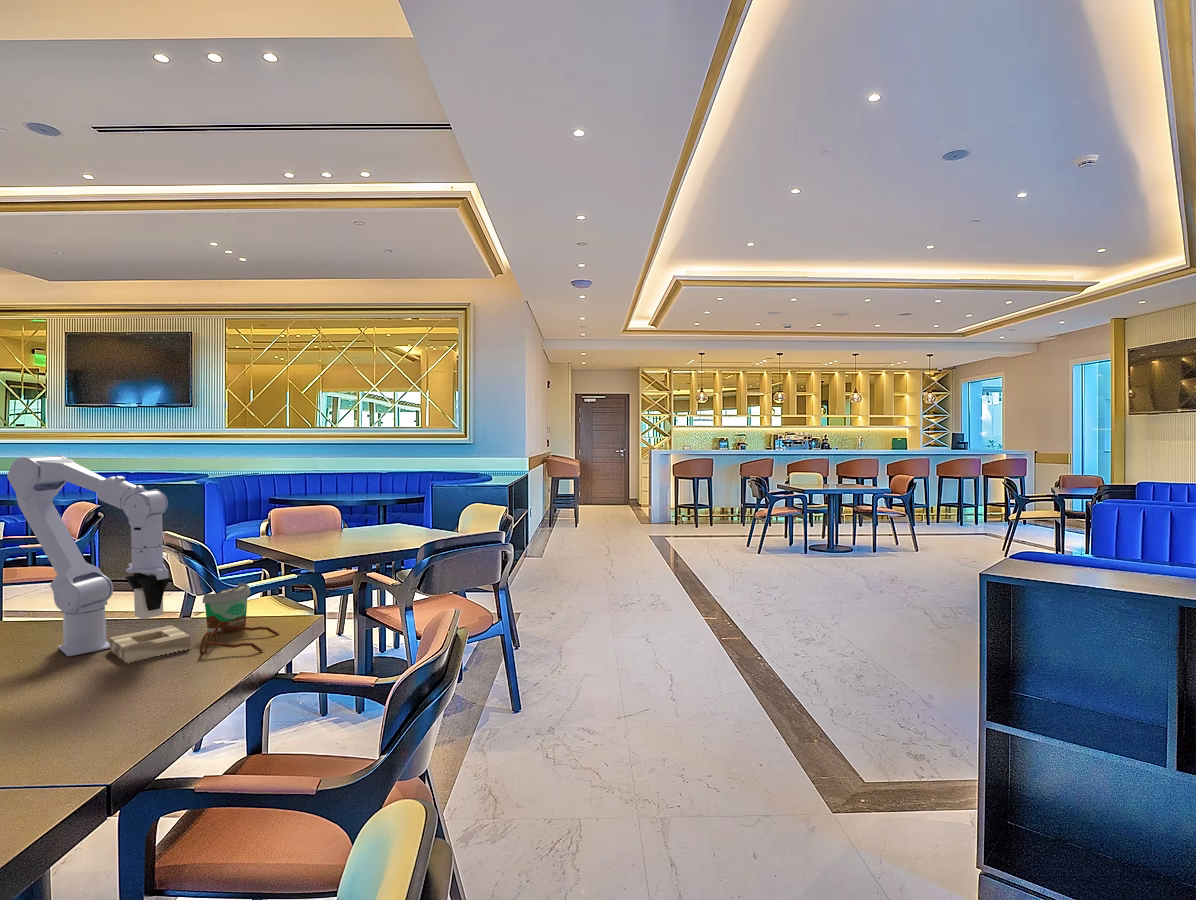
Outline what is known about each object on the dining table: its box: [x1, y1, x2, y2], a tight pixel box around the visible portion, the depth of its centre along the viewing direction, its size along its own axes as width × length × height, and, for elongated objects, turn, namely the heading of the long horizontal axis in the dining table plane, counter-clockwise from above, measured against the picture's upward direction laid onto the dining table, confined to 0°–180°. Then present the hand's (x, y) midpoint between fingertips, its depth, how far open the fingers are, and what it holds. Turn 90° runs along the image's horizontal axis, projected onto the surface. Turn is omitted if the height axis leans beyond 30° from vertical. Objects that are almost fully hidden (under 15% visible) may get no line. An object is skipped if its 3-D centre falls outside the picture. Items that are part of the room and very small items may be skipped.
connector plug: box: [133, 588, 164, 620], centre depth 148 cm, size 4×4×6 cm
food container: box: [201, 582, 252, 636], centre depth 163 cm, size 12×6×10 cm, turn 168°
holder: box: [109, 625, 192, 664], centre depth 149 cm, size 12×12×3 cm
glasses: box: [199, 621, 279, 655], centre depth 152 cm, size 13×13×5 cm
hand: (149, 607), depth 148 cm, fingers closed on connector plug, 4 cm apart
